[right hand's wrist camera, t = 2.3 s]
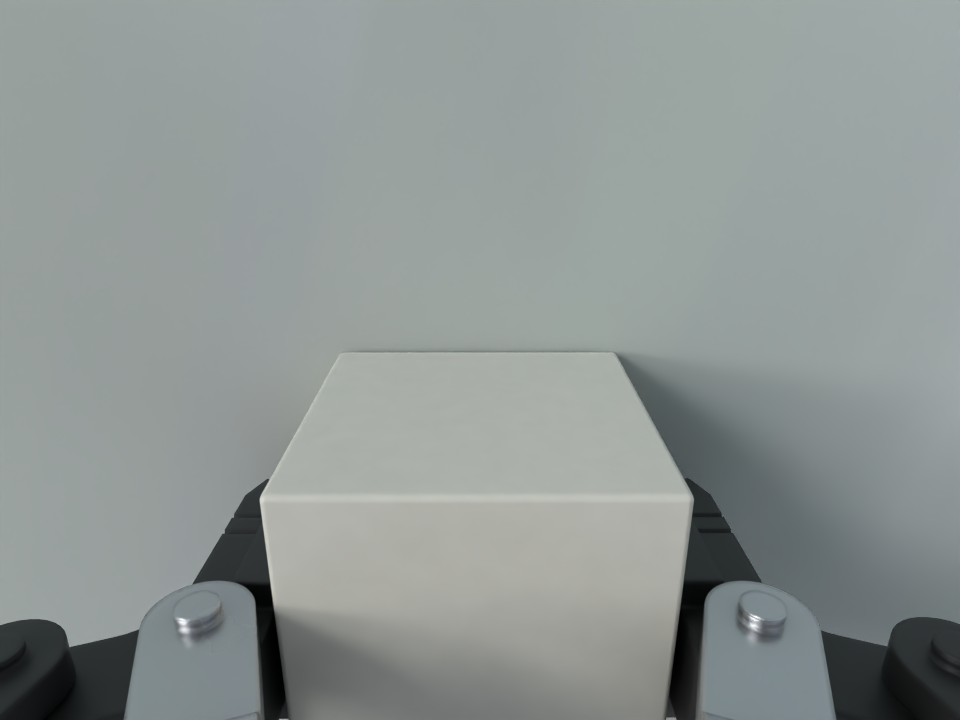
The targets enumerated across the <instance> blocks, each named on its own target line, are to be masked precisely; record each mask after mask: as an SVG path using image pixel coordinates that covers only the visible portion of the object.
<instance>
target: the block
mask: <svg viewBox="0 0 960 720" xmlns="http://www.w3.org/2000/svg"><path fill="white" fill-rule="evenodd" d="M693 504H694V498H693V495H692V493H691V491H690V489H689V487H688V485H687V484H686V482H685V480H684V478H683V476H682V474H681V473H680V471H679V469H678V467H677V465H676V463H675V462H674V460H673V458H672V456H671V454H670V452H669V451H668V449H667V447H666V445H665V443H664V441H663V440H662V438H661V436H660V434H659V432H658V430H657V429H656V427H655V425H654V423H653V421H652V419H651V418H650V416H649V414H648V412H647V410H646V408H645V407H644V405H643V403H642V401H641V399H640V397H639V396H638V394H637V392H636V390H635V388H634V386H633V385H632V383H631V381H630V379H629V377H628V375H627V374H626V372H625V370H624V368H623V366H622V364H621V363H620V361H619V359H618V357H617V355H616V354H615V353H613V352H343V353H341V354H339V356H338V358H337V360H336V362H335V363H334V365H333V367H332V369H331V371H330V372H329V374H328V376H327V378H326V380H325V381H324V383H323V385H322V387H321V388H320V390H319V392H318V394H317V396H316V397H315V399H314V401H313V403H312V405H311V406H310V408H309V410H308V412H307V414H306V415H305V417H304V419H303V421H302V422H301V424H300V426H299V428H298V430H297V431H296V433H295V435H294V437H293V439H292V440H291V442H290V444H289V446H288V448H287V449H286V451H285V453H284V455H283V457H282V458H281V460H280V462H279V464H278V465H277V467H276V469H275V471H274V473H273V474H272V476H271V478H270V480H269V482H268V483H267V485H266V487H265V489H264V491H263V492H262V494H261V497H260V507H261V514H262V522H263V530H264V537H265V545H266V552H267V560H268V568H269V575H270V583H271V590H272V598H273V606H274V613H275V621H276V628H277V636H278V643H279V651H280V659H281V666H282V674H283V681H284V689H285V697H286V704H287V712H288V719H289V720H666V715H667V708H668V700H669V692H670V684H671V676H672V668H673V661H674V653H675V645H676V637H677V629H678V621H679V614H680V606H681V598H682V590H683V582H684V574H685V566H686V559H687V551H688V543H689V535H690V527H691V519H692V512H693Z"/></svg>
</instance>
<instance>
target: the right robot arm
mask: <svg viewBox="0 0 960 720" xmlns="http://www.w3.org/2000/svg"><path fill="white" fill-rule="evenodd" d="M269 480H270V479H267V480H265V481H264V482H263V483H261V484H260V485H259V486H257V487H256V488H255V489H253V490H252V491H251V492H249V493H248V494H247V495H245V497H244V499H243V500H242V502H241V504H240V505H239V507H238V509H237V511H236V512H235V514H234V518H232V519H231V521H230V522H229V524H228V526H227V527H226V529H225V534H222V536H221V537H220V539H219V541H218V542H217V544H216V546H215V547H214V549H213V551H212V552H211V554H210V556H209V557H208V559H207V561H206V562H205V564H204V566H203V567H202V569H201V571H200V573H199V574H198V576H197V578H196V579H195V581H194V583H193V584H192V585H190V586H187V587H184V588H181V589H179V590H177V591H175V592H173V593H171V594H169V595H167V596H166V597H164V598H163V599H161V600H160V601H159V602H157V603H156V604H155V605H154V606H153V607H152V608H151V609H150V610H149V611H148V613H147V614H146V615H145V617H144V618H143V620H142V622H141V625H140V629H139V630H136V631H134V632H131V633H128V634H125V635H121V636H117V637H113V638H109V639H104V640H100V641H95V642H91V643H87V644H82V645H78V646H73V647H69V644H68V640H67V636H66V633H65V631H64V630H63V628H62V627H61V626H59V625H58V624H56V623H54V622H51V621H48V620H40V619H29V620H21V621H15V622H11V623H7V624H3V625H0V720H279V719H288V712H287V704H286V697H285V689H284V681H283V674H282V666H281V659H280V651H279V643H278V636H277V628H276V621H275V613H274V606H273V598H272V590H271V583H270V575H269V568H268V560H267V552H266V545H265V537H264V530H263V522H262V514H261V507H260V497H261V494H262V492H263V491H264V489H265V487H266V485H267V483H268V482H269ZM684 480H685V482H686V484H687V485H688V487H689V489H690V491H691V493H692V495H693V498H694V504H693V512H692V519H691V527H690V535H689V543H688V551H687V559H686V566H685V574H684V582H683V590H682V598H681V606H680V614H679V621H678V629H677V637H676V645H675V653H674V661H673V668H672V676H671V684H670V692H669V700H668V708H667V715H666V717H676V719H677V720H960V624H957V623H954V622H951V621H947V620H942V619H937V618H929V617H917V618H909V619H906V620H903V621H901V622H900V623H898V624H897V625H896V626H895V627H894V628H893V630H892V632H891V635H890V639H889V643H888V647H886V646H882V645H878V644H873V643H869V642H864V641H860V640H855V639H851V638H847V637H842V636H838V635H834V634H830V633H827V632H824V631H821V629H820V625H819V622H818V620H817V619H816V617H815V615H814V614H813V613H812V611H811V610H810V609H809V608H808V607H807V606H806V605H805V604H804V603H803V602H801V601H800V600H799V599H797V598H796V597H794V596H793V595H791V594H789V593H787V592H785V591H783V590H781V589H779V588H776V587H773V586H770V585H767V584H763V583H762V582H761V580H760V578H759V576H758V575H757V573H756V571H755V570H754V568H753V566H752V565H751V563H750V561H749V559H748V558H747V556H746V554H745V553H744V551H743V549H742V548H741V546H740V544H739V542H738V541H737V539H736V537H735V536H734V534H733V533H731V529H730V527H729V525H728V524H727V522H726V520H725V519H724V517H722V516H721V512H720V510H719V508H718V507H717V505H716V503H715V502H714V500H713V498H712V497H711V495H710V494H709V493H707V492H706V491H705V490H703V489H702V488H701V487H699V486H698V485H697V484H695V483H694V482H693V481H691V480H690V479H684Z"/></svg>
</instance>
